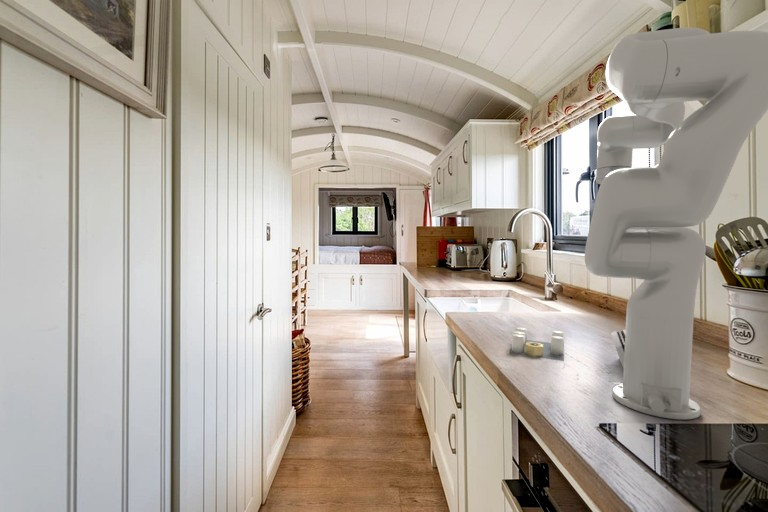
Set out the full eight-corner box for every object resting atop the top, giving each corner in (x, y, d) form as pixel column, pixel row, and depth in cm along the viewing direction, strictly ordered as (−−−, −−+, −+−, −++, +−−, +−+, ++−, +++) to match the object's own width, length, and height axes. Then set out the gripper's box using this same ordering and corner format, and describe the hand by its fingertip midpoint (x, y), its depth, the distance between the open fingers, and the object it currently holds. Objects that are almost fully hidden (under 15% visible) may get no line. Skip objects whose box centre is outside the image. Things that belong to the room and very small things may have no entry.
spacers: (563, 359, 90) (564, 343, 89) (510, 351, 95) (510, 336, 95) (563, 346, 101) (564, 331, 101) (516, 340, 107) (516, 326, 106)
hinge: (657, 385, 75) (639, 337, 76) (630, 388, 77) (613, 341, 79) (645, 362, 90) (630, 322, 91) (623, 366, 92) (608, 326, 93)
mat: (563, 362, 89) (563, 360, 89) (509, 354, 94) (509, 352, 94) (563, 346, 103) (563, 344, 103) (516, 340, 108) (516, 338, 108)
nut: (542, 357, 91) (542, 347, 91) (524, 355, 92) (525, 345, 92) (543, 352, 95) (543, 343, 95) (526, 350, 96) (526, 340, 96)
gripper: (636, 170, 85) (632, 250, 86) (626, 180, 99) (623, 249, 99) (598, 172, 89) (594, 249, 89) (594, 181, 102) (590, 248, 103)
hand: (609, 249), depth 94 cm, fingers closed
